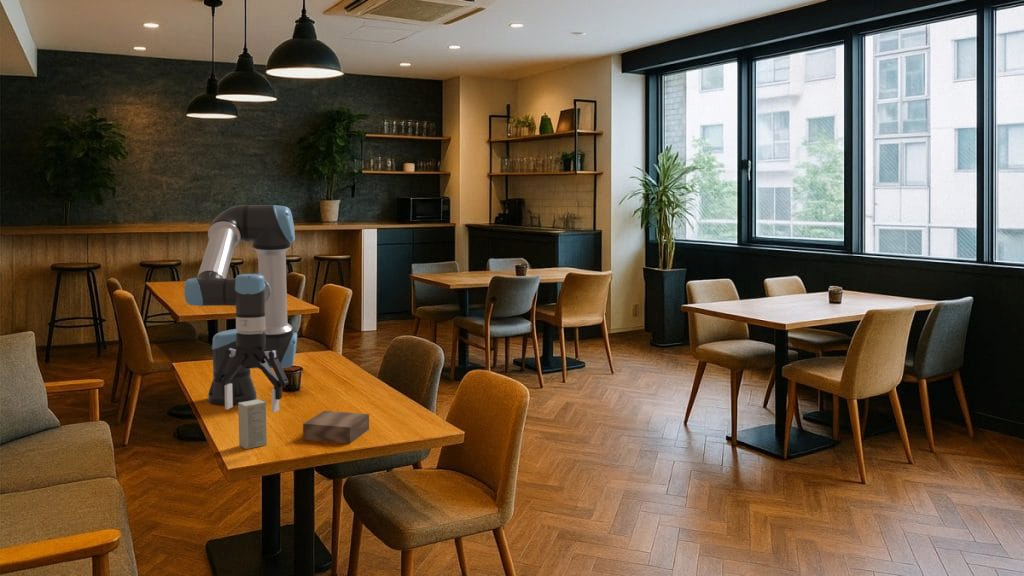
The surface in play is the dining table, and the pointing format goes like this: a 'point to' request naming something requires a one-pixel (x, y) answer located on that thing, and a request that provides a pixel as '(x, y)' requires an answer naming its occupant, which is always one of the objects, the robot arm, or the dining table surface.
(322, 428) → the plate
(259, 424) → the skincare box
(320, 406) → the dining table surface
